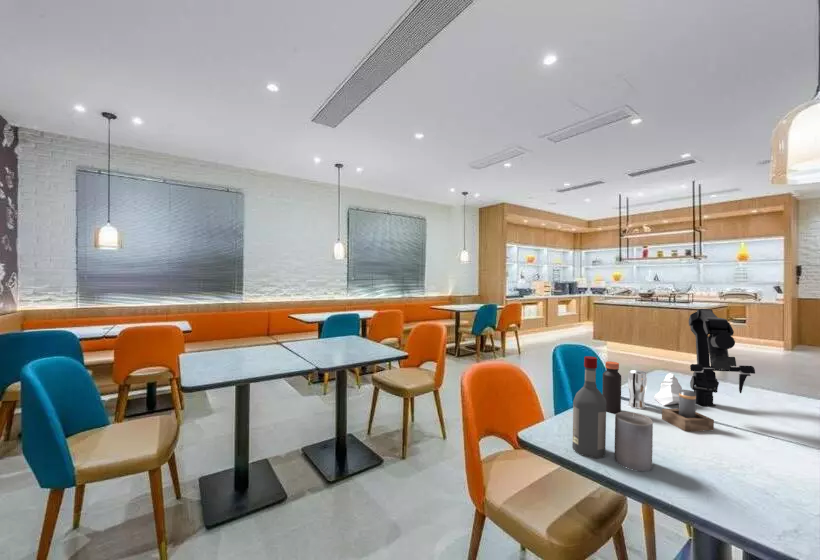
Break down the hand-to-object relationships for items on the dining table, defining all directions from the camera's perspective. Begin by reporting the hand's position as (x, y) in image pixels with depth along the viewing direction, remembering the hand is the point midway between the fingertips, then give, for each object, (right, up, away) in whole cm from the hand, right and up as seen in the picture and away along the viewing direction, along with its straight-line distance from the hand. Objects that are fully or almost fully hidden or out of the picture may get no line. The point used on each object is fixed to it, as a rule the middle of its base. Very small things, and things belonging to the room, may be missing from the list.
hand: (724, 392), depth 137 cm
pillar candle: (-53, -12, -29) cm, 62 cm away
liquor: (-63, -12, -22) cm, 68 cm away
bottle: (-36, -12, +13) cm, 40 cm away
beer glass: (-22, -12, +18) cm, 31 cm away
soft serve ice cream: (-4, -12, +22) cm, 25 cm away
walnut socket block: (-15, -12, -1) cm, 19 cm away
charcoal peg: (-15, -11, -1) cm, 19 cm away
